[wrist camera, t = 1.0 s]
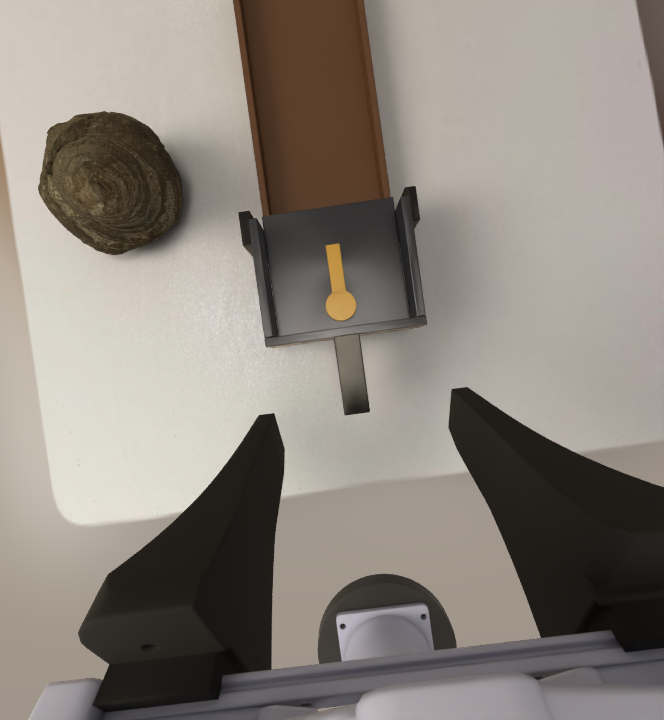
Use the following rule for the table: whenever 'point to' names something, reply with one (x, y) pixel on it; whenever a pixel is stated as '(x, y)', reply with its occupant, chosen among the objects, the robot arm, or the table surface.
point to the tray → (311, 103)
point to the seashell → (110, 181)
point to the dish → (361, 273)
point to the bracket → (415, 215)
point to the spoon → (338, 287)
